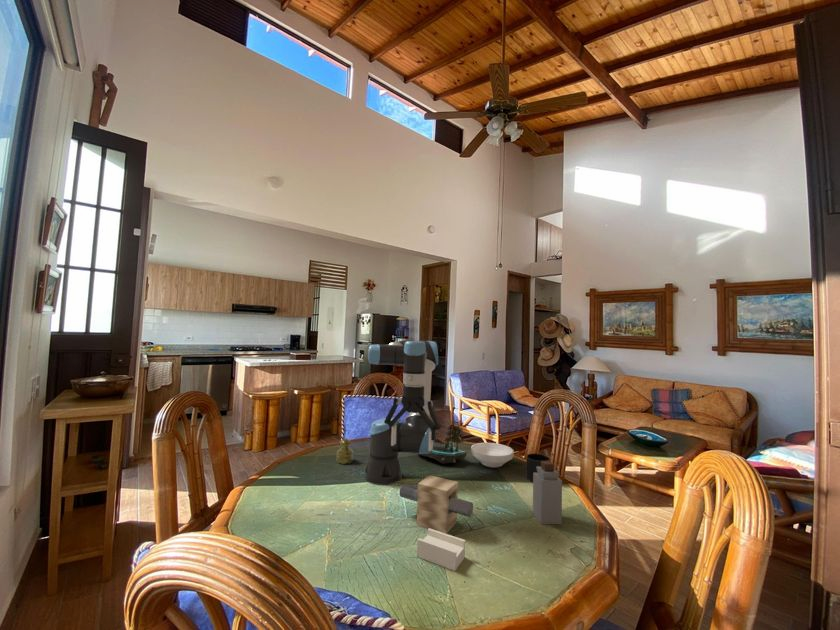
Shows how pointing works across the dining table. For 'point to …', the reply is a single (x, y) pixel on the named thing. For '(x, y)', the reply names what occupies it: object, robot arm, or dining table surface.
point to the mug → (534, 464)
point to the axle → (454, 503)
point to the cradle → (441, 549)
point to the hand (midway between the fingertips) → (411, 447)
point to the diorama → (447, 447)
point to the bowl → (492, 454)
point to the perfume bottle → (547, 494)
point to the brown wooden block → (436, 503)
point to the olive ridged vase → (344, 452)
